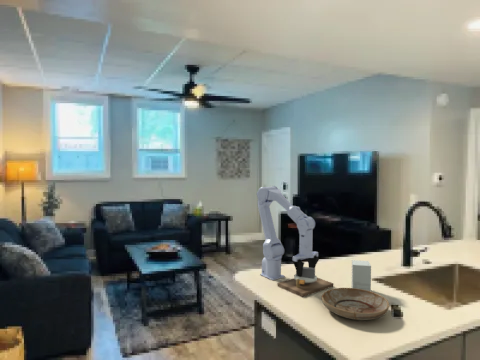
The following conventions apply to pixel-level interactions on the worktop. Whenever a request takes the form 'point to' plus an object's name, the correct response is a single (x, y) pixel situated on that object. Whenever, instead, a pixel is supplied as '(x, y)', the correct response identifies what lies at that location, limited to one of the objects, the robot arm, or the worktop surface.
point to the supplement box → (361, 275)
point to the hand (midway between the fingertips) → (305, 274)
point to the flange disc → (306, 275)
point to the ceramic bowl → (355, 303)
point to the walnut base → (304, 286)
